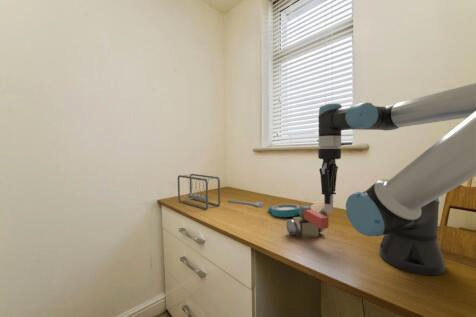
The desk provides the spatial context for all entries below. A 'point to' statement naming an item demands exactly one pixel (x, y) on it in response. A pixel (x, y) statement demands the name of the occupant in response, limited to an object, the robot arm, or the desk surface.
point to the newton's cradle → (200, 197)
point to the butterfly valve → (294, 209)
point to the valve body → (302, 228)
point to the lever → (313, 217)
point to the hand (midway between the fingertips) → (328, 211)
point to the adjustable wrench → (248, 203)
